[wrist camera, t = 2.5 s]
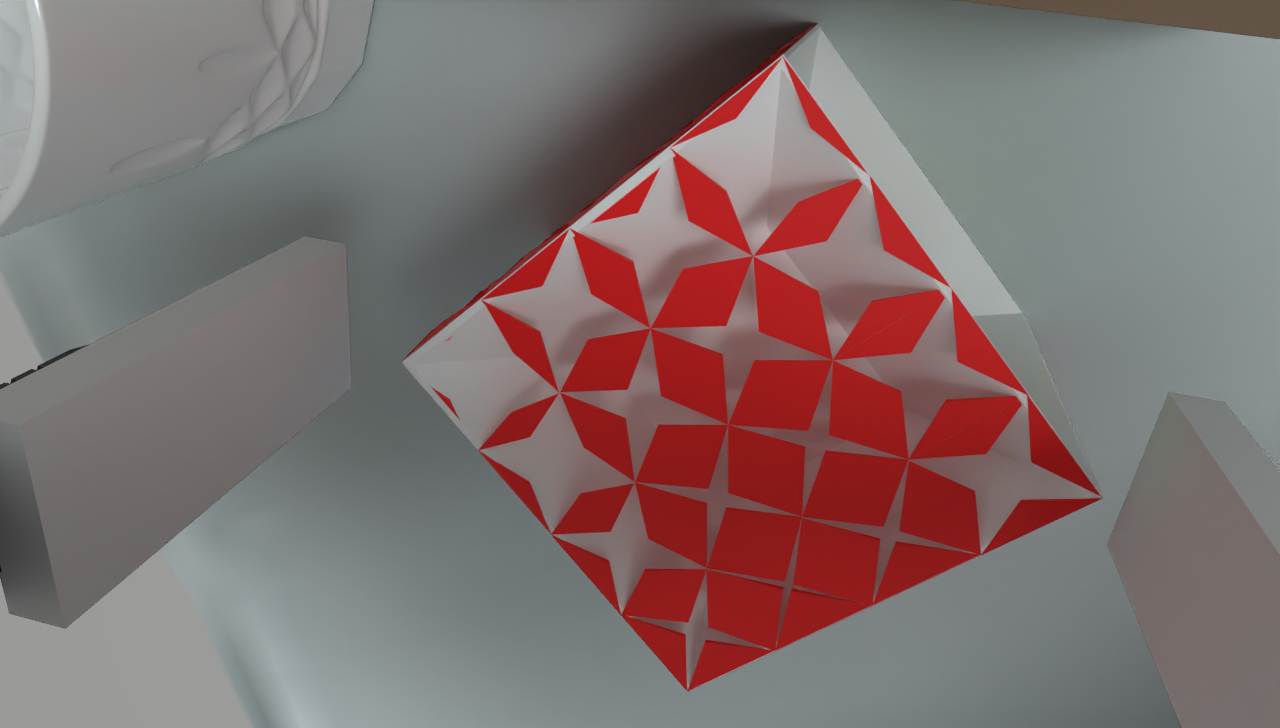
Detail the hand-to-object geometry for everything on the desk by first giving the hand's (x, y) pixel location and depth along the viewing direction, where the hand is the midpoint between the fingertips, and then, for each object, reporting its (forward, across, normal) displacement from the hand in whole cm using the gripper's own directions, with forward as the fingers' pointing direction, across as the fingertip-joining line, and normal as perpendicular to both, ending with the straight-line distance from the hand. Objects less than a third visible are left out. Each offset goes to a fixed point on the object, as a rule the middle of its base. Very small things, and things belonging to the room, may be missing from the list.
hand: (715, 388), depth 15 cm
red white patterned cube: (+8, 0, 0) cm, 8 cm away
